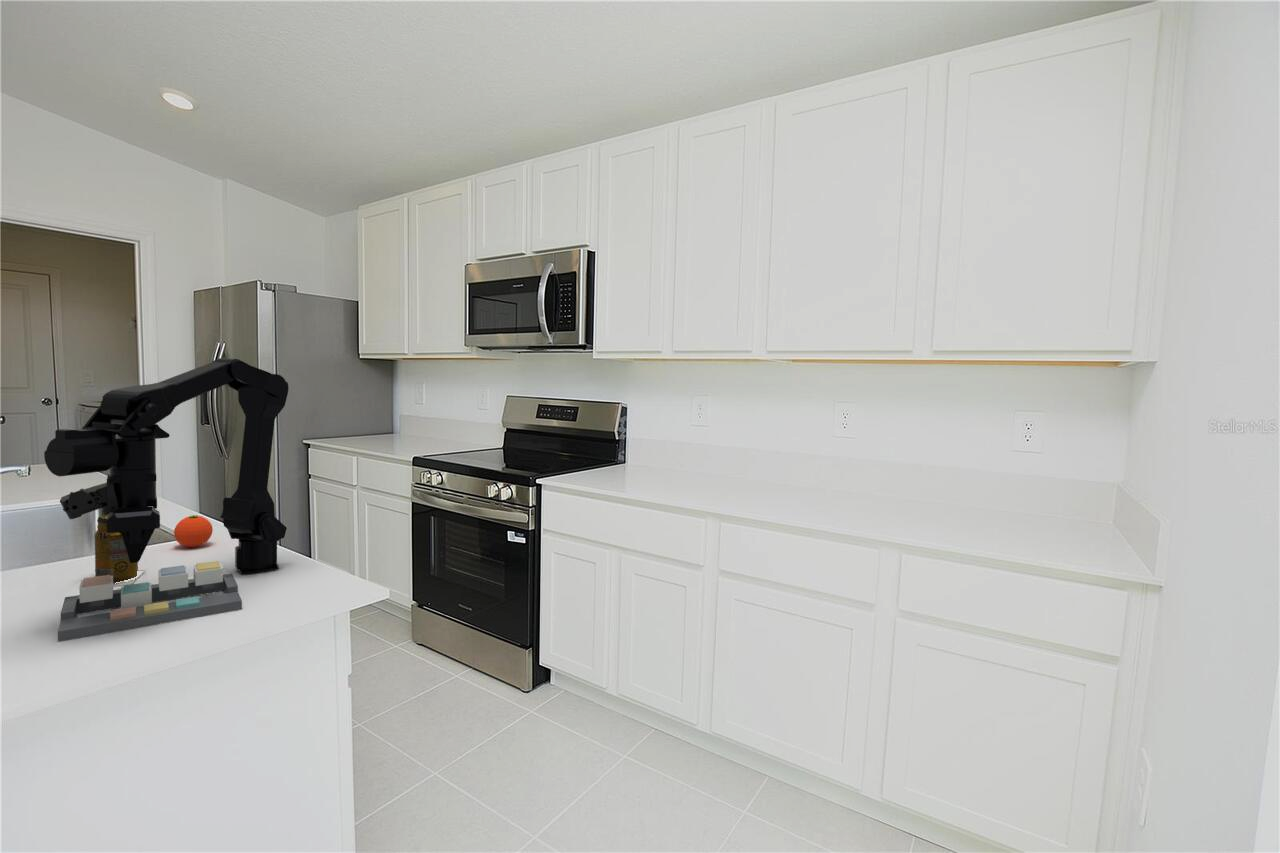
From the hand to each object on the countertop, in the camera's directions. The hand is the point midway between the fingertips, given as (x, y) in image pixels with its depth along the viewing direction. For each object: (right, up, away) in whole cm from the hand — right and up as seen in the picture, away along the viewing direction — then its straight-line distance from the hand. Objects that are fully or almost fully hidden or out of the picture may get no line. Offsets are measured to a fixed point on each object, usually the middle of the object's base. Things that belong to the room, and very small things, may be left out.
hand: (134, 562), depth 98 cm
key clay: (-4, -6, -2) cm, 8 cm away
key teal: (0, -8, +1) cm, 8 cm away
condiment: (-16, -7, +14) cm, 22 cm away
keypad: (+2, -8, +2) cm, 9 cm away
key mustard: (+7, -6, +7) cm, 12 cm away
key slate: (+3, -6, +4) cm, 8 cm away
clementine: (-17, -5, +36) cm, 40 cm away
